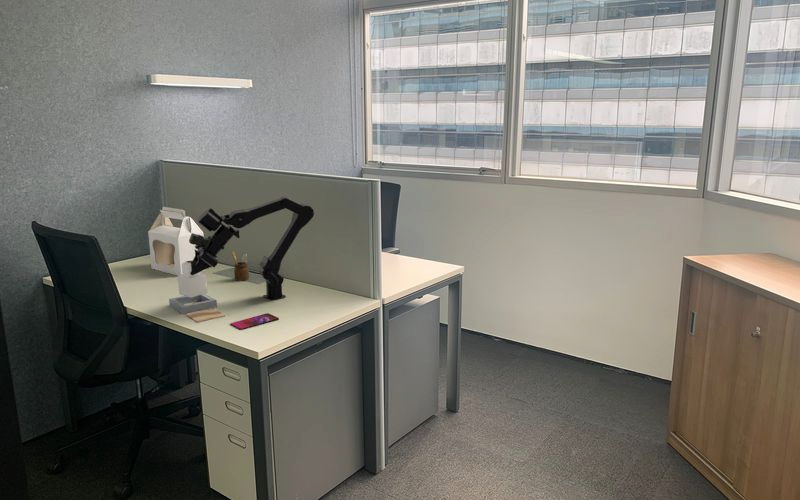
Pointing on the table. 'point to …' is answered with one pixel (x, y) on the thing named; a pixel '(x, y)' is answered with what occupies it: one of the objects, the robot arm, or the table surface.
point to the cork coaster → (205, 315)
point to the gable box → (172, 241)
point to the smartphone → (254, 321)
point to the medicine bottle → (191, 281)
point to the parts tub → (205, 304)
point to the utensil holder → (241, 270)
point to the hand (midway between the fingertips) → (190, 272)
